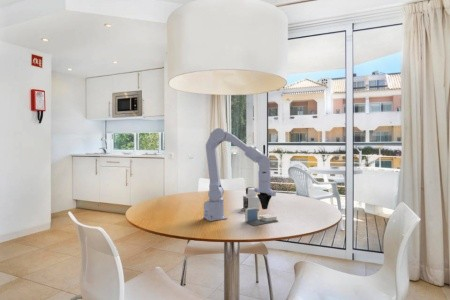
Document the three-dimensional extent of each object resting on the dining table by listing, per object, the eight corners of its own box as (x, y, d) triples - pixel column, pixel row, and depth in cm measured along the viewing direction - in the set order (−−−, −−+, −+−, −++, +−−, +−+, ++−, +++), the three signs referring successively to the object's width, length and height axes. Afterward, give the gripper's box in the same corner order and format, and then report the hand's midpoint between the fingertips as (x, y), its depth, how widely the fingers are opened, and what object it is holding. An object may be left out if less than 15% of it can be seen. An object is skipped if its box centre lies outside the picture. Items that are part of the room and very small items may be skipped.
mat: (253, 225, 126) (253, 225, 126) (245, 222, 132) (245, 221, 132) (278, 221, 133) (278, 220, 133) (269, 218, 139) (269, 217, 139)
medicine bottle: (243, 208, 162) (242, 187, 162) (254, 207, 164) (254, 186, 164) (247, 210, 155) (247, 188, 155) (259, 209, 158) (259, 188, 157)
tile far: (258, 218, 137) (266, 221, 131) (258, 215, 137) (266, 218, 131) (268, 217, 139) (276, 220, 134) (268, 213, 139) (276, 216, 134)
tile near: (247, 222, 133) (247, 209, 132) (245, 221, 134) (245, 208, 134) (257, 220, 135) (257, 207, 135) (255, 219, 137) (255, 207, 137)
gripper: (280, 181, 132) (281, 210, 133) (262, 178, 145) (262, 205, 145) (268, 182, 129) (268, 212, 129) (250, 179, 142) (251, 206, 142)
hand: (264, 208), depth 137 cm, fingers closed
